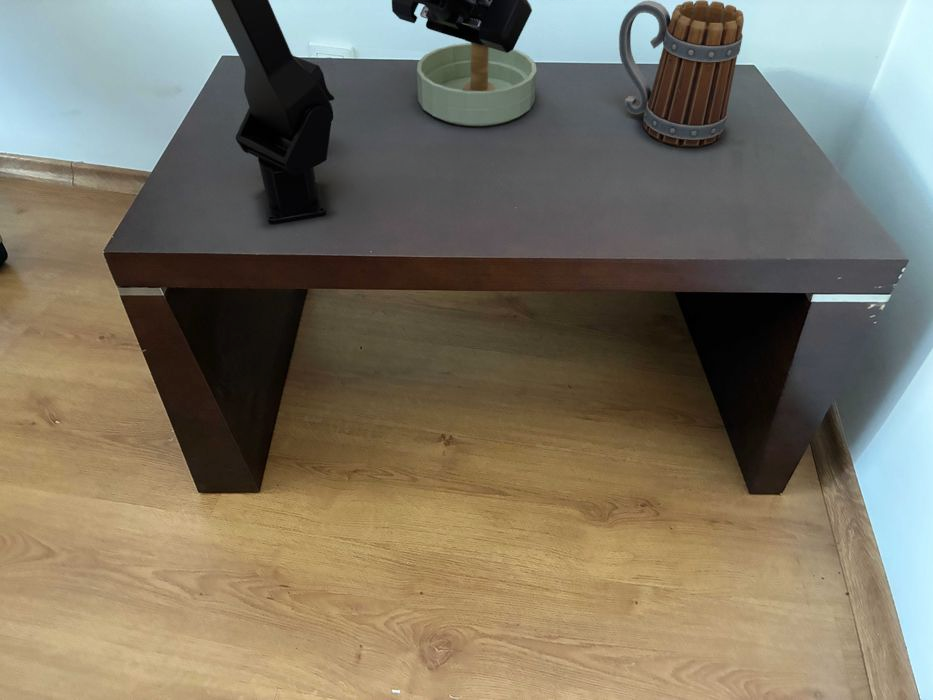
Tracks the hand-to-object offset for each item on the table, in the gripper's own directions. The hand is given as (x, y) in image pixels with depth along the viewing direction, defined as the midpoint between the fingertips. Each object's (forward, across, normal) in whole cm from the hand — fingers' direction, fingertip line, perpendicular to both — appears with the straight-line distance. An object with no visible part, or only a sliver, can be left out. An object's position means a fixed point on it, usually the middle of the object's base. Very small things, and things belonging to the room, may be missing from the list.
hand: (486, 42), depth 96 cm
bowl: (+4, 0, +7) cm, 8 cm away
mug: (+12, -24, -1) cm, 26 cm away
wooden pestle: (+4, 0, +6) cm, 7 cm away
